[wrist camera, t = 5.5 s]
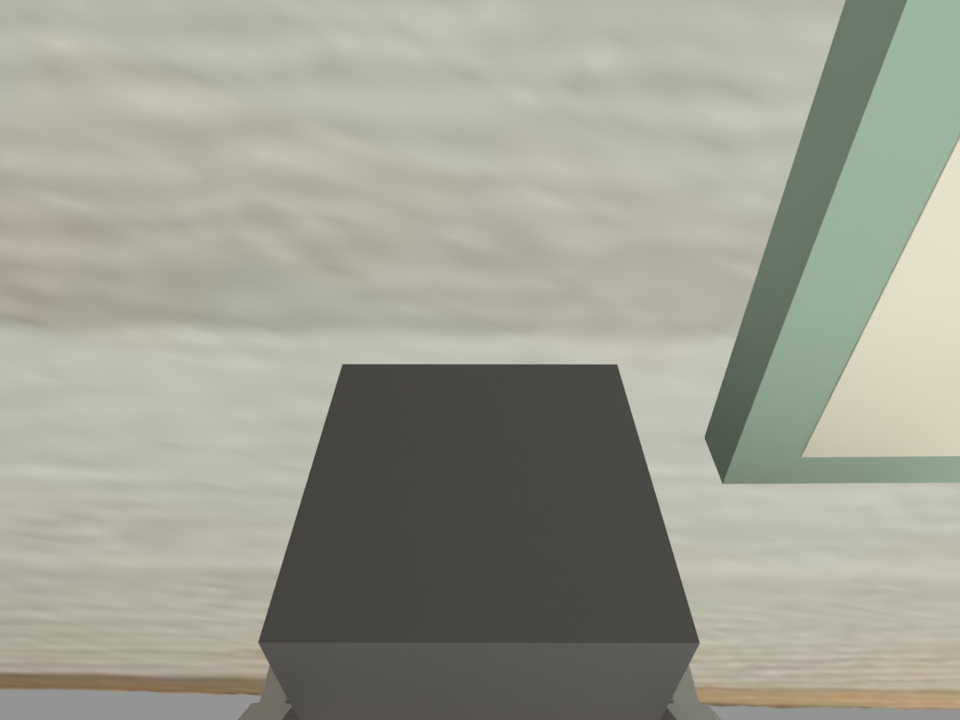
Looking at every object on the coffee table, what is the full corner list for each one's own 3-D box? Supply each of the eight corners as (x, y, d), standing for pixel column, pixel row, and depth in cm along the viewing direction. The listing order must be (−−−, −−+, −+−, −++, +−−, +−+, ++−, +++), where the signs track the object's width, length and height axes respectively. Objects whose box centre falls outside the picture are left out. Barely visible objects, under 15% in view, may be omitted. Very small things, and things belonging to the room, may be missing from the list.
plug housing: (397, 646, 17) (373, 863, 13) (342, 363, 10) (257, 642, 6) (562, 646, 17) (586, 863, 13) (617, 364, 10) (700, 643, 6)
